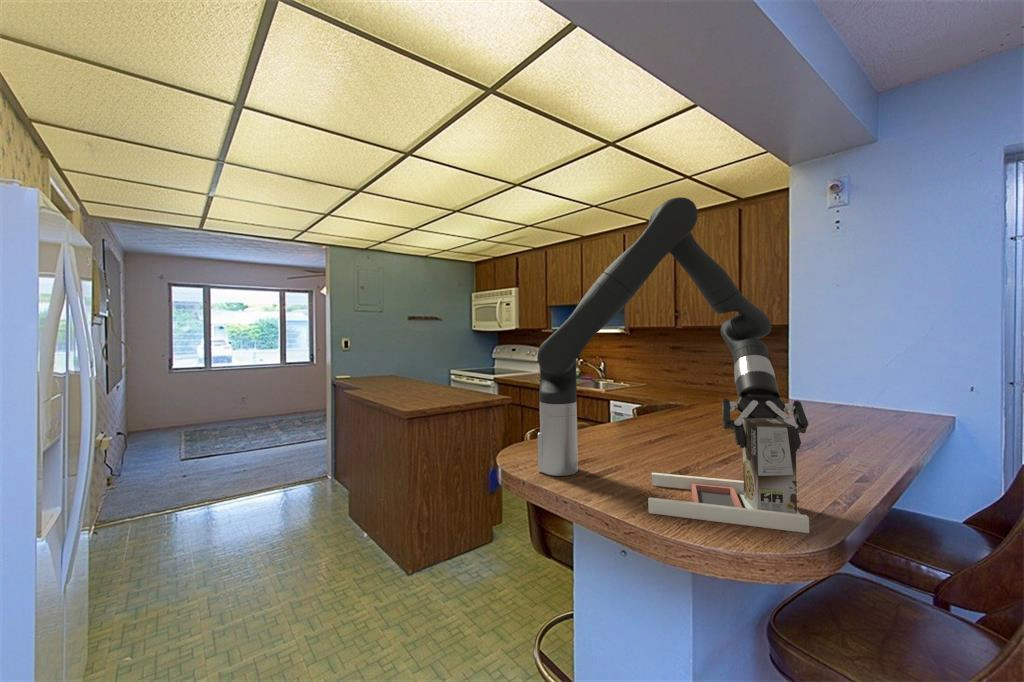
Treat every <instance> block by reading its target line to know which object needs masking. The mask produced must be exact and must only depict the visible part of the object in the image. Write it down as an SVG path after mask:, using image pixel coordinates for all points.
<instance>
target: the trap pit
mask: <svg viewBox="0 0 1024 682" xmlns="http://www.w3.org/2000/svg"><path fill="white" fill-rule="evenodd" d="M691 496H692V502H695V503H704V504H713V505H722V506H731V507H740V508H743V506H742V505H743V504H742V503H741V500H740V498H739V496H738V494H736V491H735V489H734V487H724V486H713V485H703V484H693V483H691Z"/></svg>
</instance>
